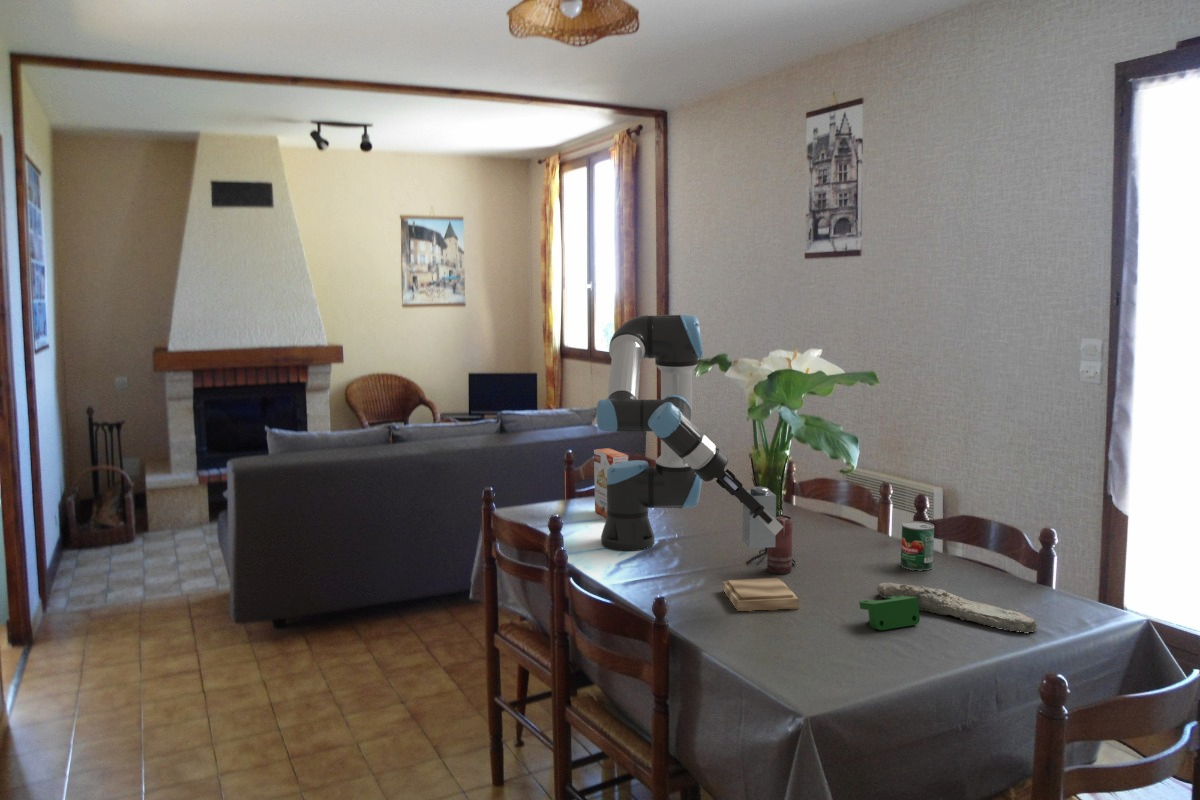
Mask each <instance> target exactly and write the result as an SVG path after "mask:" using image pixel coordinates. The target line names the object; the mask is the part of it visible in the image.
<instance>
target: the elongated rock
mask: <svg viewBox="0 0 1200 800" xmlns="http://www.w3.org/2000/svg"><path fill="white" fill-rule="evenodd" d="M876 593H878V594H879V595H880V598H884V600H887V597H892V596H909V597H917V600H918V608H919V609H920V610H925V611H924V612H927V611H929V613H932V614H934V613H936V614H935V615H940V616H951V617H952V616H953V617H954V618H956V619H958V618H959V620H961V621H964V620H966V621H967V622H973V623H976V624H980V625H982V624H983V626H985V625H988V626H993V627H996V628H997V627H998V628H1002V629H1006V630H1005V631H1008V630H1011V631H1019V632H1020V631H1021V632H1032V631H1034V632H1036V631H1037V626H1038V624H1037V623H1036V619H1034V618H1033V617H1029V616H1028V615H1025V614H1023V613H1022V612H1018V611H1015V610H1012V609H1005V608H1002V607H999V606H995V605H992V604H987V603H984V602H979V601H975V600H969V599H966V598H964V597H962V596H958V595H955V594H953V593H950V592H948V591H946V590H945V589H942V588H934V587H933V588H932V587H927V586H924V585H917V586H916V585H912V584H905V583H904V584H901V583H894V582H881V583H880V584H879V583H878V586H877V587H876ZM920 610H919V611H920ZM966 621H965V622H966ZM988 626H987V627H988ZM996 628H995V629H996ZM1011 631H1010V632H1011Z"/></svg>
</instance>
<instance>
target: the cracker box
mask: <svg viewBox="0 0 1200 800" xmlns="http://www.w3.org/2000/svg"><path fill="white" fill-rule="evenodd" d="M626 461H629V455H628V454H625V453H623V452H620V451H618V450H615V449H612V448H609V447H607V448H606V447H605V448H598V449H597V448H596V449H593V465H594V469H593V471H594V481H593V482H594V512H595V513H597V514H598V515H601V516H602V517H604V518H606V519H607V484H606V481H607V471H608V469H609V468H610V467H611V466H612V465H614V464H617V463H621V462H626Z"/></svg>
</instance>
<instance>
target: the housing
mask: <svg viewBox="0 0 1200 800" xmlns="http://www.w3.org/2000/svg"><path fill="white" fill-rule="evenodd" d="M745 490H746V489H745ZM746 491H747V492H748V493H749V494H750V495H751V496H752V497H753V498H754V499H755V500H756V501H757V502H758V503H759V504H760V505H761V506H763V507H764V508H765V509H766V510H767V511H768V512H769V513H770V514H771V515H772V516H773V517H774V518H775V519H776V515H777V495H776V494H775V493H774V492H772V491H771V490H770V489H769V488H768V487H765V486H751V487H750V489H747V490H746ZM753 515H754V513H753V512H752V511H751V510H750V509H749V508H748V507H747V506H746V505H745V504H743V503H742V542H743V544H745V545H746V546H747V548H749V549H762V548H763V549H764V548H765V549H766V548H768V547H775V538H776V535H774V534H773V533H772V532H771V531H770V530H769V529H768V528H767V527H766V526H765V525H764V524H763V523H762V522H761V521H760V520H759V519H758V518H757V517H756V518H755V519H754V518H753V517H752V516H753Z"/></svg>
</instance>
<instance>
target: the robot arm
mask: <svg viewBox="0 0 1200 800" xmlns="http://www.w3.org/2000/svg"><path fill="white" fill-rule="evenodd" d="M700 327H701V326H700V321H699V319H698V317H697V316H695V315H689V314H688V315H687V314H663V315H662V314H661V315H660V314H659V315H648V314H647V315H646V314H645V315H639V316H635V317H632V318H630V319H629V320H627V321H625V322H624V323H623V324H622V325H621V326H619V327H618V329H617V330H616V331H615V332H614V333H613V335H612V337H611V339H610V343H609V348H608V353H609V356H610V357H609V358H611V362H610V372H609V379H608V380H609V381H608V388H607V389H608V390H607V396H606V397H607V398H606V399H600V400H598V402H597V404H596V426H597V428H598V430H599V431H603V432H612V433H616V432H618V433H619V432H653V433H654V435H655V436H656V437H657V438H659V439H660V456H659V457H658V458H656V459H655V466H649V463H648V461H647V460H642V459H641V460H640V459H639V460H638V459H636V460H635V459H634V460H628V461H626V462H621V463H617V464H614V465H612V466H611V467H610V468H609V469H608V471H607V481H606V484H607V518H606V519H605V522H604V526H603V528H602V532H601V536H600V542H601V543H600V544H601V545H602V547H604V548H607V549H610V550H614V551H615V550H616V551H627V552H628V551H639V550H638V549H641V550H645V549H644V548H646V549H648V548H647V547H649V546H651V547H653V546H654V545H655V534H654V531H653V528H652V524H651V522H650V519H649V509H680V510H682V509H693V508H696V506H698V504H699V501H700V496H701V490H702V481H703V482H705V483H706V482H710V481H712V480H714V479H715V482H716V484H718V485H719V486H720V487H721V488H722V489H725V491H726V492H728V493H729V494H730V495H731V496H735V498H737V499H738V500H739V503H741V504H742V505H743V504H745V505H746V506H747V507H748V508H749V509H750V510H751V511H752V512H753V513H754V515H753V516H752V517H753V518H754V519H755V518H756V517H757V518H758V519H759V520H760V521H761V522H762V523H763V524H764V525H765V526H766V527H767V528H768V529H769V530H770V531H771V532H772V533H773V534H774V535H776V534H777V533H778V532H779V531H780V530H781V529H782V528H783V526H782V525H781V524H780V523H779V522H778V521H777V520H776V519H775V518H774V517H773V516H772V515H771V514H770V513H769V512H768V511H767V510H766V509H765V508H764V507H763V506H761V505H760V504H759V503H758V502H757V501H756V500H755V499H754V498H753V497H752V496H751V495H750V494H749V493H748V492H747V491H746V489H745V488H744V486H743V484H742V482H741V481H739V479H738V478H736V475H735V474H734V473H733V472H732V471H730V469H728V468H727V469H725V468H726V467H727V466H728V463H729V458H728V457H727V456H726V455H725V453H724V452H722V450H720V448H717V447H716V444H715V443H714V442H713V441H712V440H710V438H709V437H707V436H706V434H704V433H703V432H702V431H701V430H700V429H699V428H698V427H697V426H696V425H695V424H694V423H693V371H694V370H695V368H696V367H697V366H698V365H699V363H698V362H699V359H702V358H704V350H703V342H702V335H701V328H700ZM643 359H655V361H654V363H655V366H656V368H658V370H660V399H639V393H640V377H641V362H642V361H643ZM653 544H654V545H653ZM652 545H653V546H652ZM649 548H650V547H649Z"/></svg>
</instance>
